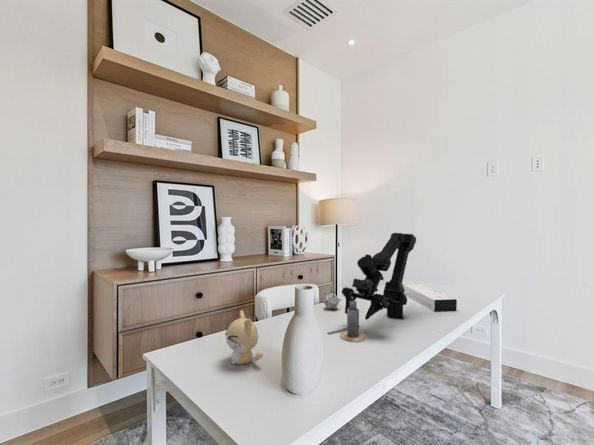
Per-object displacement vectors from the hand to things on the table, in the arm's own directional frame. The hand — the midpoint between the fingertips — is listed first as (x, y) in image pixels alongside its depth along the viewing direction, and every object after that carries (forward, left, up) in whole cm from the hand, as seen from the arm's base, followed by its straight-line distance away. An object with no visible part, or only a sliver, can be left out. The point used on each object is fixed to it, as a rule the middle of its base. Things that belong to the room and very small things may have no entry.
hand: (355, 316), depth 122 cm
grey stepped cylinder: (+1, +1, -7) cm, 7 cm away
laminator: (-30, -58, -8) cm, 66 cm away
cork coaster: (+1, +1, -7) cm, 8 cm away
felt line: (+5, -4, -7) cm, 10 cm away
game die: (+15, -30, -8) cm, 35 cm away
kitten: (+32, +32, -8) cm, 46 cm away
